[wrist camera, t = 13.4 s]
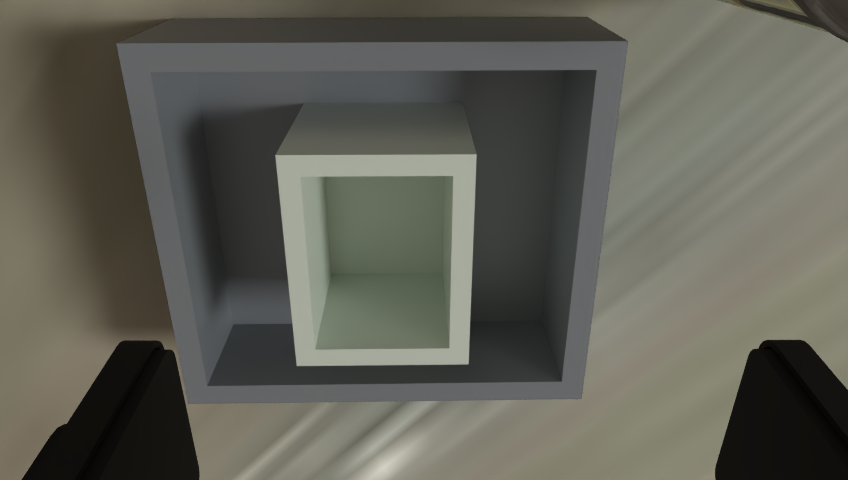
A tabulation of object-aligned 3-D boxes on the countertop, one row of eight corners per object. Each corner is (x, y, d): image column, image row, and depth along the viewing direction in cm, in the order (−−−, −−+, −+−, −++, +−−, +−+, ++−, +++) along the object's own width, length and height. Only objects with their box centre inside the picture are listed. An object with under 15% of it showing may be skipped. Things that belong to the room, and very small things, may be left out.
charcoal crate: (171, 18, 29) (116, 43, 23) (587, 17, 29) (628, 41, 24) (221, 329, 36) (188, 404, 30) (555, 326, 36) (581, 399, 31)
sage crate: (304, 103, 29) (275, 155, 23) (462, 102, 30) (476, 154, 23) (318, 280, 33) (296, 366, 27) (457, 279, 34) (468, 364, 27)
